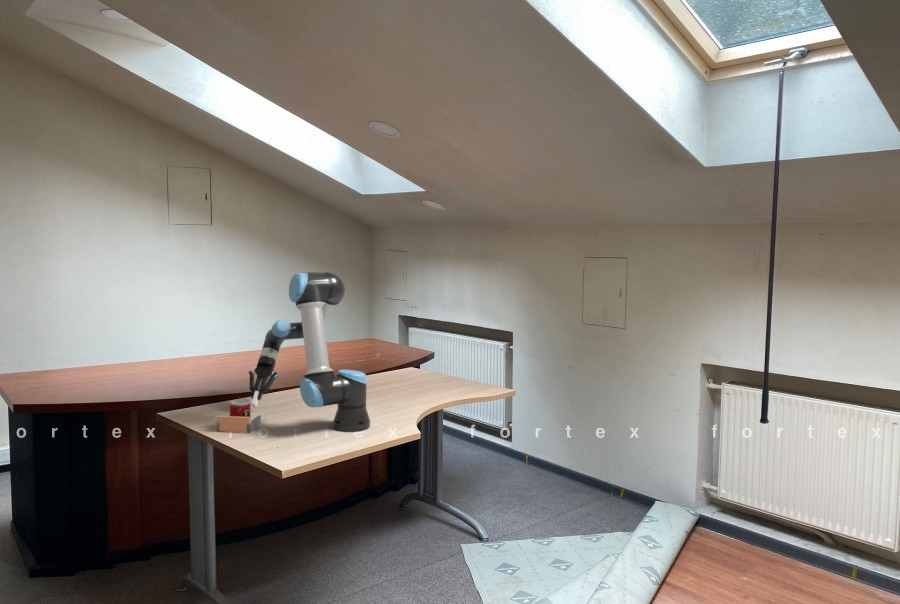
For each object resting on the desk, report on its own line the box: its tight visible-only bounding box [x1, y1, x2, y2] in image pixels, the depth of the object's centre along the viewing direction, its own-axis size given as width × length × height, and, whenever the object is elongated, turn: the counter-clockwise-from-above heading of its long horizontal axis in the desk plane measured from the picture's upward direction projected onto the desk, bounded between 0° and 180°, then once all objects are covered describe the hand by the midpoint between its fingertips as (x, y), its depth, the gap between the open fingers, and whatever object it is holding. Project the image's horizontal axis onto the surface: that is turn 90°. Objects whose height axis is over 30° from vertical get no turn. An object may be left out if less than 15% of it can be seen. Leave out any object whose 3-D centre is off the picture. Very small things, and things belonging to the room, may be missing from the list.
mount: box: [216, 414, 262, 434], centre depth 249 cm, size 13×12×6 cm
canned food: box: [229, 398, 251, 417], centre depth 248 cm, size 8×8×11 cm
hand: (253, 405), depth 264 cm, fingers closed
